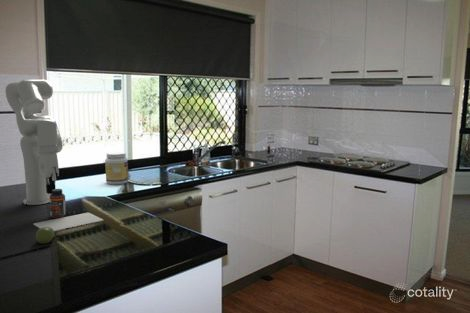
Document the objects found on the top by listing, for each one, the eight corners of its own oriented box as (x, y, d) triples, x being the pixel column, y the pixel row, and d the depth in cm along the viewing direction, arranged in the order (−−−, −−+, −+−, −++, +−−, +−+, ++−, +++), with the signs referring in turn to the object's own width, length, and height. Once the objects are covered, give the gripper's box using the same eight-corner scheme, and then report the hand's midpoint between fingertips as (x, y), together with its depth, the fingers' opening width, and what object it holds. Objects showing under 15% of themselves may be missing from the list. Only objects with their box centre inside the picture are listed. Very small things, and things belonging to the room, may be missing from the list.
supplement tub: (129, 183, 231) (128, 154, 229) (107, 185, 227) (105, 155, 224) (127, 179, 243) (125, 151, 240) (105, 181, 238) (103, 152, 236)
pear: (33, 229, 137) (40, 225, 147) (33, 245, 137) (41, 240, 146) (51, 228, 138) (57, 224, 148) (51, 244, 138) (57, 239, 148)
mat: (33, 224, 160) (33, 223, 160) (88, 213, 175) (88, 212, 175) (46, 233, 150) (46, 232, 150) (103, 220, 164) (103, 219, 164)
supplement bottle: (49, 219, 166) (47, 191, 165) (51, 215, 172) (49, 188, 170) (65, 218, 168) (63, 190, 166) (67, 214, 174) (65, 187, 172)
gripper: (32, 148, 174) (35, 191, 176) (45, 152, 163) (48, 197, 165) (50, 147, 179) (53, 188, 181) (64, 150, 168) (67, 194, 170)
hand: (51, 192), depth 173 cm, fingers closed
